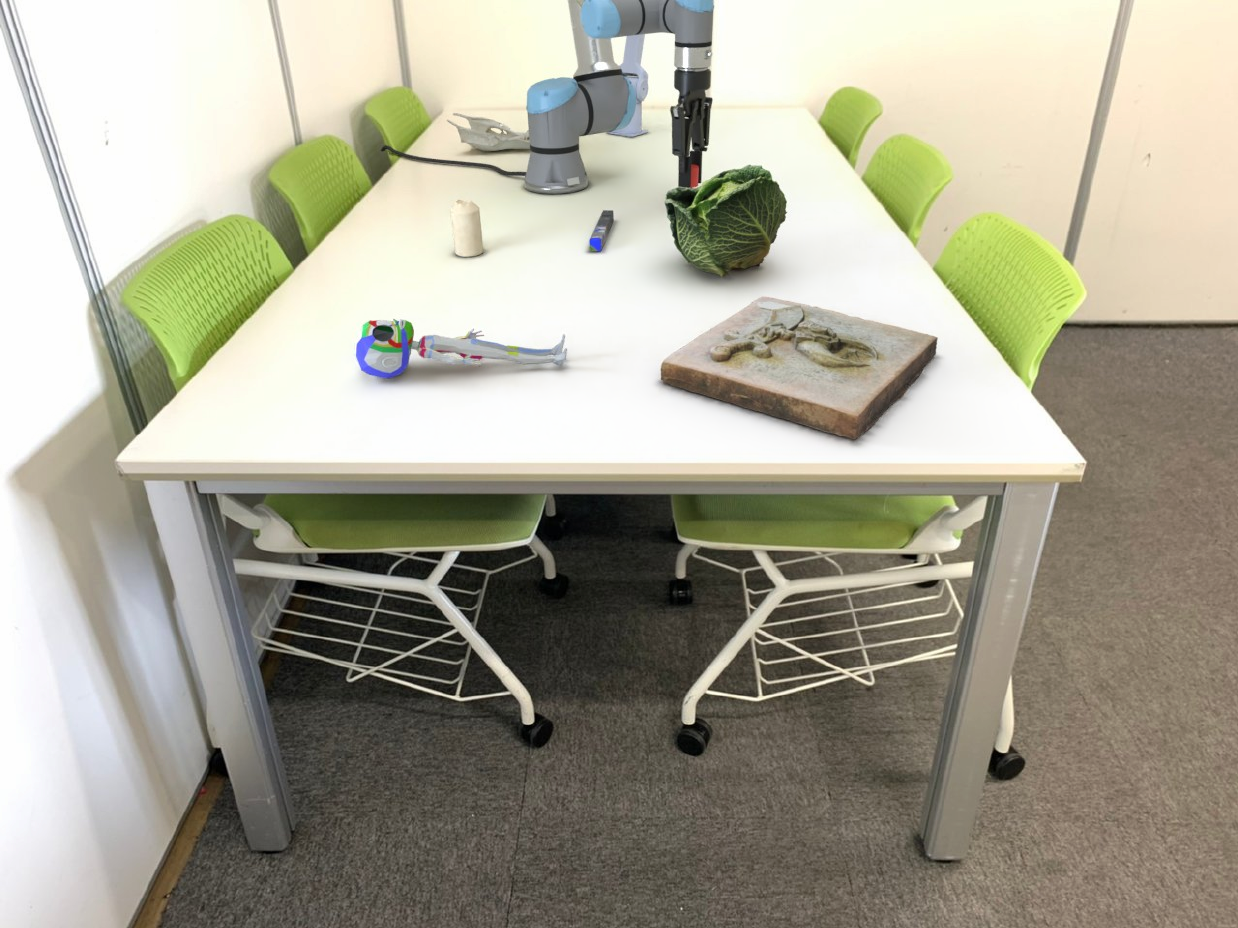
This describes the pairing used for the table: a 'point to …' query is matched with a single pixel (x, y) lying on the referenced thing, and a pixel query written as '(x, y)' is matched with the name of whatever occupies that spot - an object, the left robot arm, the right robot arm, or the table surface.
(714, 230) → the vegetable
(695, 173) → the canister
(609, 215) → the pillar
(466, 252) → the candle
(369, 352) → the toy
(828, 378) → the plaque
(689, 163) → the left robot arm
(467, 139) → the anatomical model
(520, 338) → the table surface
